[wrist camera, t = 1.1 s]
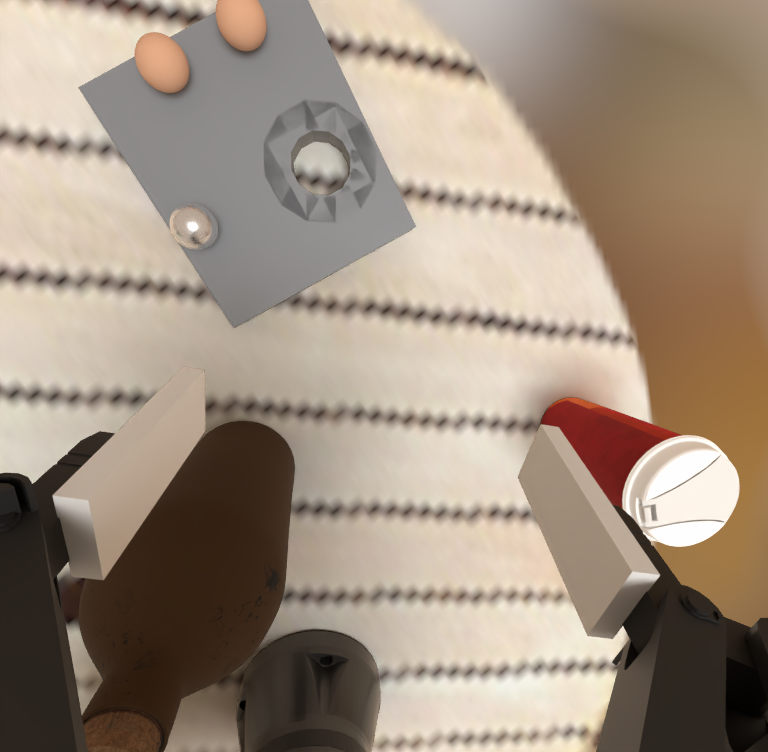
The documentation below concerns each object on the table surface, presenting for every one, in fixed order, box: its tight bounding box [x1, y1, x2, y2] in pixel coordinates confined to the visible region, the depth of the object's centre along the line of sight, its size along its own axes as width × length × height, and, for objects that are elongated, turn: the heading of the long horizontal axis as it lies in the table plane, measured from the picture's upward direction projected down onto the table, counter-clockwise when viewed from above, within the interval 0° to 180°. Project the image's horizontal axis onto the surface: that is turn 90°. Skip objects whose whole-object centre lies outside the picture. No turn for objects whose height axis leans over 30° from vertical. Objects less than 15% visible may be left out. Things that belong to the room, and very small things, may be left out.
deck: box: [78, 0, 416, 328], centre depth 32 cm, size 17×19×2 cm
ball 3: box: [216, 0, 267, 51], centre depth 27 cm, size 3×3×3 cm
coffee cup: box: [541, 398, 739, 546], centre depth 35 cm, size 8×8×15 cm
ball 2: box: [170, 203, 218, 250], centre depth 29 cm, size 3×3×3 cm
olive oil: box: [79, 421, 295, 752], centre depth 26 cm, size 11×11×25 cm
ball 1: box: [135, 32, 189, 93], centre depth 27 cm, size 3×3×3 cm
